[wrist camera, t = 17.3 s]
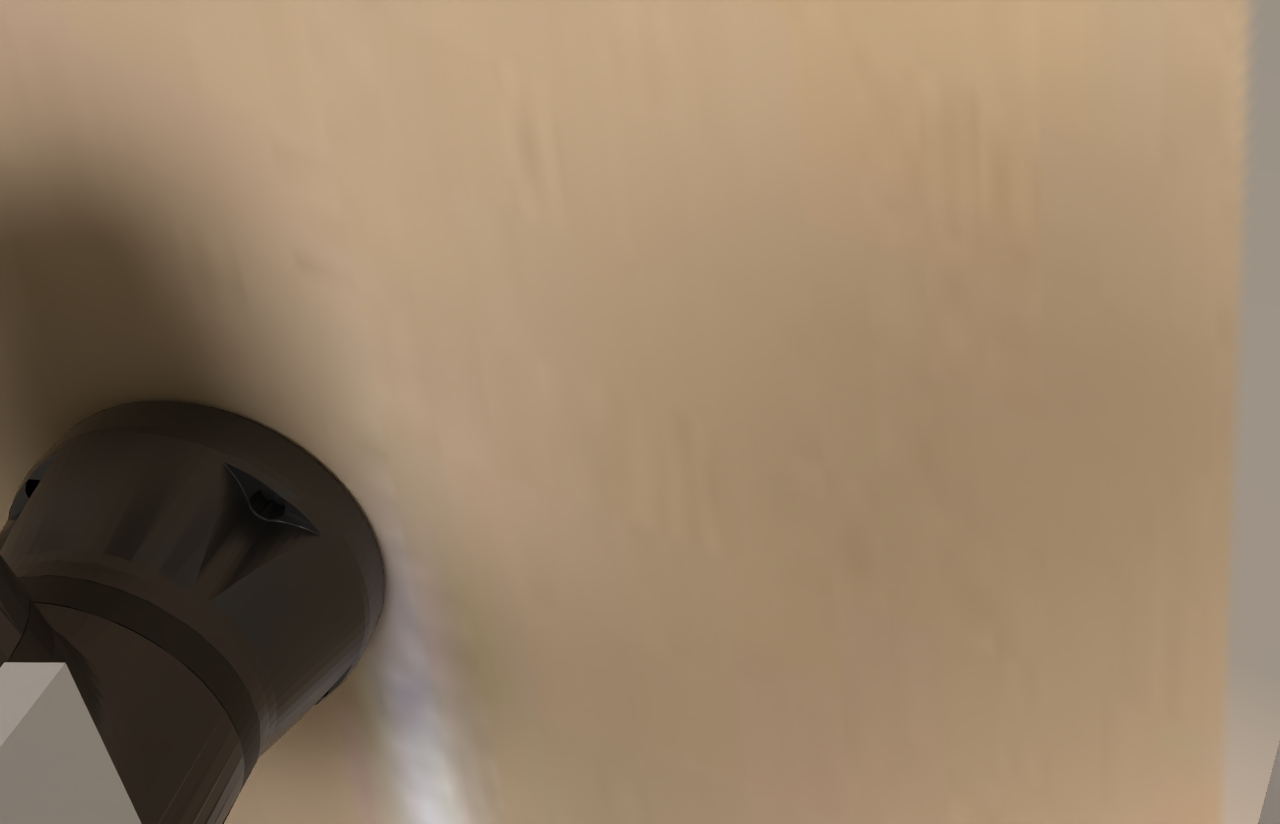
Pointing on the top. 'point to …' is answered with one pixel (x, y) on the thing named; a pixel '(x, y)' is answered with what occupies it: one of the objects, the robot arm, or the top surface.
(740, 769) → the top surface
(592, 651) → the top surface
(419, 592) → the top surface
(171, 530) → the robot arm
